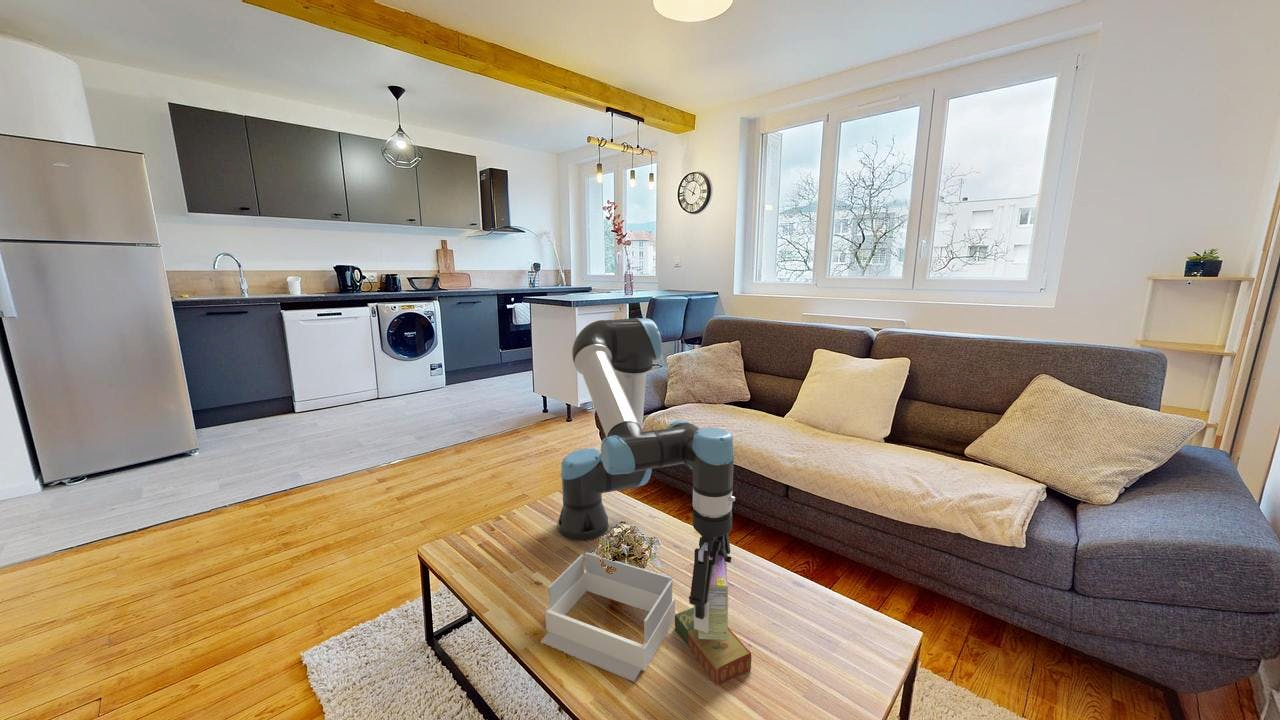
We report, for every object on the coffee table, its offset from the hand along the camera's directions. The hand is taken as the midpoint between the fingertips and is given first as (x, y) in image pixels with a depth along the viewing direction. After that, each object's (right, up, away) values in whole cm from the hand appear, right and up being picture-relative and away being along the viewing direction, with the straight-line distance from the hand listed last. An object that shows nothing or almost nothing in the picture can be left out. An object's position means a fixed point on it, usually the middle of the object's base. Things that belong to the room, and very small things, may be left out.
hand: (711, 608), depth 93 cm
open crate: (-21, -8, +7) cm, 24 cm away
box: (0, -3, 0) cm, 3 cm away
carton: (0, -10, +2) cm, 10 cm away
